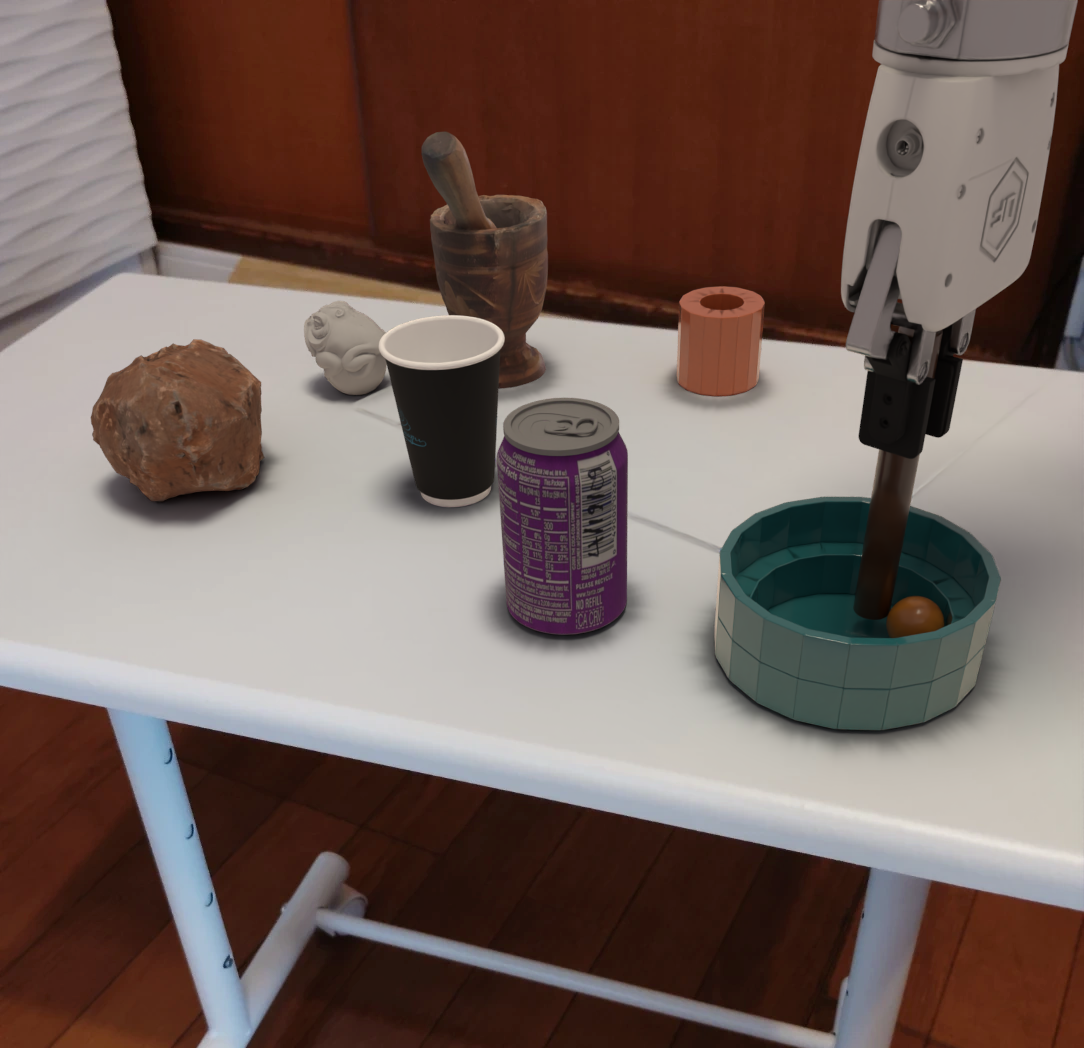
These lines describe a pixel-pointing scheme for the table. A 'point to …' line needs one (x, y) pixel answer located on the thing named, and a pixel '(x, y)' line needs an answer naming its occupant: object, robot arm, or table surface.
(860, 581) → the stirring stick
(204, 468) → the decorative rock
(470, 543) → the table surface
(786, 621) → the bowl
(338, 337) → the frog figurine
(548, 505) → the beverage can
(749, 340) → the holder
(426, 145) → the mortar and pestle
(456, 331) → the dixie cup
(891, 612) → the bead
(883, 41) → the robot arm
